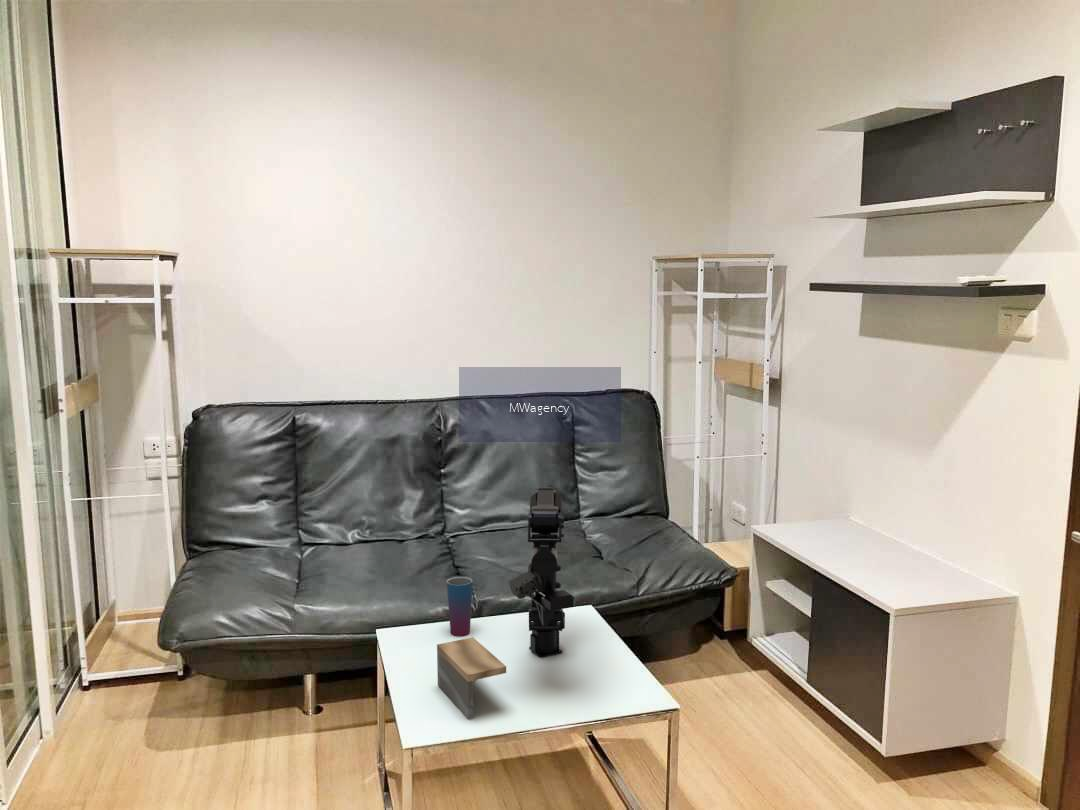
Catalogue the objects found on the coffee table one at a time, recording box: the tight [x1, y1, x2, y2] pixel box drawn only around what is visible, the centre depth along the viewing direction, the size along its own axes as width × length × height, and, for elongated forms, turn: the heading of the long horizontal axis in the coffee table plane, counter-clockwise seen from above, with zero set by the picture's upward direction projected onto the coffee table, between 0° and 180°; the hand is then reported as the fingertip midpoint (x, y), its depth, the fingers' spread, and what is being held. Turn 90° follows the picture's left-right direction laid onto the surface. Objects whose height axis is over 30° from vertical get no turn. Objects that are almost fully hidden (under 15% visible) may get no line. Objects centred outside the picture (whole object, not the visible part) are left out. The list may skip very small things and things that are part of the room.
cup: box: [446, 576, 474, 638], centre depth 226 cm, size 7×7×15 cm
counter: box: [436, 636, 507, 721], centre depth 191 cm, size 9×18×10 cm, turn 28°
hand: (544, 625), depth 200 cm, fingers closed
